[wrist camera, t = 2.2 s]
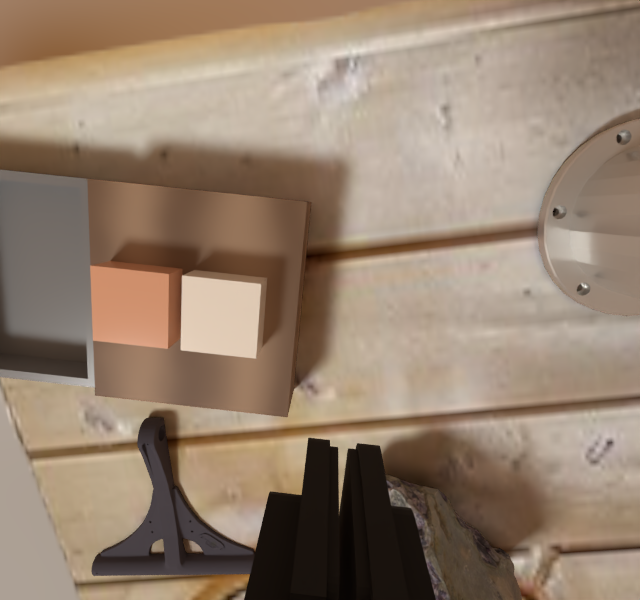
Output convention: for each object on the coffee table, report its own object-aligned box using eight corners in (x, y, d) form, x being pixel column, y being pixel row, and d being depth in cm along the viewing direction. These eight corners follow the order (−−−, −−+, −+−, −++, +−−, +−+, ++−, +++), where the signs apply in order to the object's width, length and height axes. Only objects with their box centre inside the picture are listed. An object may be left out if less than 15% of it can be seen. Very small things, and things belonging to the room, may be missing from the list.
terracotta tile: (182, 268, 24) (168, 273, 22) (181, 337, 25) (167, 348, 23) (110, 261, 24) (90, 265, 22) (111, 330, 25) (92, 340, 23)
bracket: (247, 409, 31) (238, 428, 28) (262, 562, 34) (256, 592, 32) (74, 413, 32) (49, 432, 29) (105, 562, 35) (85, 591, 32)
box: (116, 182, 27) (89, 178, 24) (120, 370, 30) (96, 387, 27) (-27, 167, 27) (-71, 162, 24) (-8, 356, 30) (-44, 372, 27)
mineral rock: (361, 454, 31) (373, 568, 21) (499, 439, 30) (577, 550, 20) (379, 584, 34) (397, 737, 24) (506, 574, 33) (577, 727, 23)
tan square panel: (311, 202, 26) (306, 201, 23) (293, 389, 30) (287, 417, 26) (123, 183, 27) (87, 178, 23) (126, 371, 30) (95, 395, 26)
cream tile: (267, 277, 24) (261, 283, 22) (262, 346, 25) (256, 358, 23) (194, 270, 24) (181, 275, 22) (192, 339, 25) (180, 350, 23)
